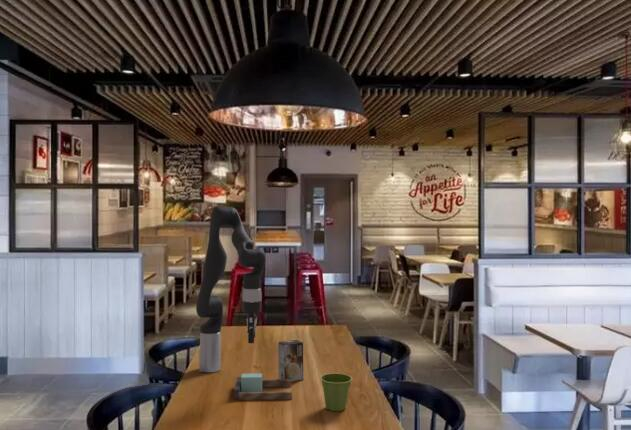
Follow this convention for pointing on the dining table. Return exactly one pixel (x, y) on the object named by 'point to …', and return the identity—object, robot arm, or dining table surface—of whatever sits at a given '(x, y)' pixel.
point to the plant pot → (336, 390)
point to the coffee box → (290, 360)
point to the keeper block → (251, 383)
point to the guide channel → (263, 395)
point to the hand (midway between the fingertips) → (251, 340)
